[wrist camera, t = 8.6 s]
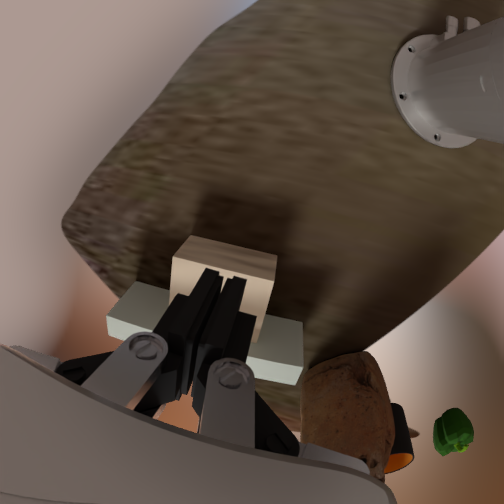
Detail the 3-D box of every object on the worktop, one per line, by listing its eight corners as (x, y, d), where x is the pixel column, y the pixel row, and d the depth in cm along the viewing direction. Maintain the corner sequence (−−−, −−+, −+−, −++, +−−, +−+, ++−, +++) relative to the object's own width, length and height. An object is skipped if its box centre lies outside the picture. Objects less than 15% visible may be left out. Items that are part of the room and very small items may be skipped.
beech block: (191, 234, 34) (172, 256, 29) (277, 254, 34) (274, 281, 29) (184, 292, 38) (168, 320, 32) (262, 311, 37) (256, 343, 32)
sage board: (135, 281, 38) (106, 315, 31) (302, 322, 37) (303, 367, 30) (136, 299, 39) (108, 335, 32) (296, 339, 38) (295, 385, 31)
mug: (332, 426, 46) (333, 475, 36) (391, 396, 41) (402, 447, 32) (355, 440, 48) (359, 485, 38) (410, 413, 43) (421, 460, 34)
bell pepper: (445, 429, 45) (456, 466, 36) (421, 425, 45) (431, 466, 36) (473, 404, 42) (488, 442, 33) (450, 399, 41) (465, 441, 32)
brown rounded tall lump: (319, 395, 43) (319, 513, 24) (296, 368, 40) (289, 498, 22) (384, 369, 39) (410, 489, 21) (367, 337, 37) (396, 472, 19)
